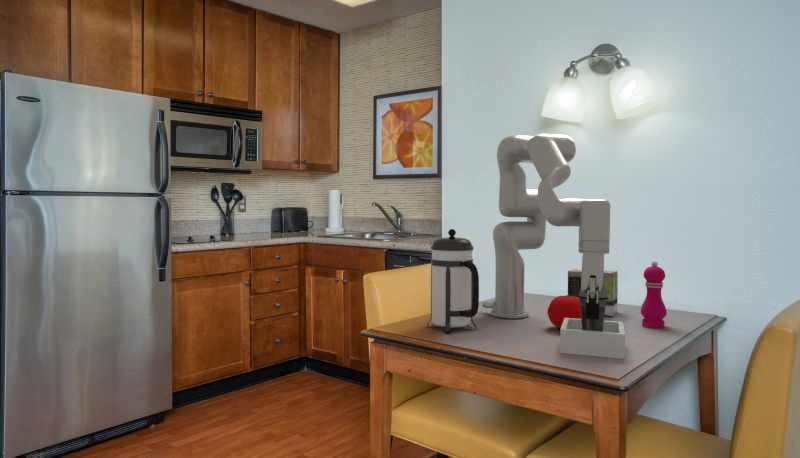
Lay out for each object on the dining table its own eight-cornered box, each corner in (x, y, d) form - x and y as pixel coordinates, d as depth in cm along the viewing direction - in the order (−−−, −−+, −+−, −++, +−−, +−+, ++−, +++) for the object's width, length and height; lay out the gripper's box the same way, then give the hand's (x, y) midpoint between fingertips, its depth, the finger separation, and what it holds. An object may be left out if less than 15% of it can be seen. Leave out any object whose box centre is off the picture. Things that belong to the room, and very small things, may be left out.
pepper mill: (669, 329, 162) (670, 262, 162) (643, 328, 164) (644, 262, 163) (662, 323, 170) (664, 260, 169) (637, 322, 171) (639, 259, 170)
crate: (560, 353, 136) (560, 329, 136) (564, 339, 150) (564, 317, 150) (624, 359, 131) (625, 334, 131) (622, 344, 145) (623, 322, 145)
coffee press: (419, 332, 158) (419, 229, 156) (434, 321, 173) (435, 227, 171) (477, 337, 152) (478, 230, 150) (488, 325, 167) (489, 228, 165)
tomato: (540, 326, 165) (541, 292, 165) (573, 323, 170) (574, 290, 169) (564, 335, 155) (564, 298, 154) (598, 331, 159) (599, 296, 158)
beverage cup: (572, 337, 144) (574, 262, 143) (599, 337, 144) (600, 262, 144) (584, 344, 136) (586, 265, 136) (612, 344, 137) (614, 265, 136)
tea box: (617, 312, 188) (618, 269, 188) (612, 317, 180) (613, 272, 179) (573, 307, 196) (574, 267, 195) (566, 312, 188) (567, 270, 187)
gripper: (580, 244, 149) (578, 308, 150) (576, 249, 133) (575, 321, 133) (609, 245, 146) (607, 310, 147) (609, 250, 130) (608, 324, 131)
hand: (592, 315), depth 140 cm, fingers closed on beverage cup, 6 cm apart
